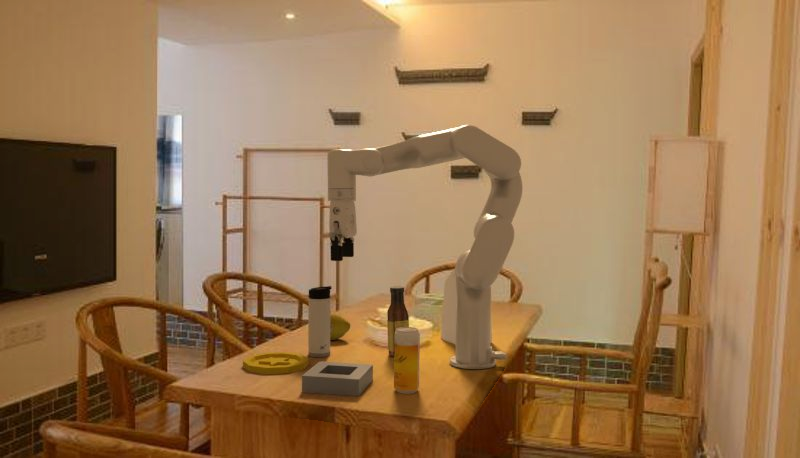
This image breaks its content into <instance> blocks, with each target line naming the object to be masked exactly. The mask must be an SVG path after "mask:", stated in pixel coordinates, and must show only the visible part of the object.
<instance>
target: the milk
mask: <svg viewBox="0 0 800 458" xmlns="http://www.w3.org/2000/svg"><path fill="white" fill-rule="evenodd" d="M455 271H456V266H455V267H454V268H453V270H452V271H451V272H450V273H449V274H448V276H447V277H446V279H445V281H444V288H443V289H444V290H443V298H442V299H443V301H442V303H443V304H442V314H441V316H442V317H441V327H440V329H441V330H440V339H441V340H443V341H445V342H447V343H450V344H452V345H455V346H456V272H455ZM492 334H493V333H492V326H491V327H490V344H492V343H493V341H492V340H493V339H492V338H493V337H492V336H493V335H492Z"/></svg>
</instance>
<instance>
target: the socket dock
mask: <svg viewBox="0 0 800 458" xmlns="http://www.w3.org/2000/svg"><path fill="white" fill-rule="evenodd" d="M373 380H374V364H370V363H368V364H367V363H355V362H353V363H352V362H338V361H323V360H320V361H319V362H317V363H316V364H315V365H313V366H311V368H310V369H309V370H307V371H306V372H304V373H303V374H301V393H305V394H306V393H308V394H319V395H320V394H321V395H322V394H324V395H334V396H335V395H337V396H350V397H351V396H352V397H360V396H361V394H363V392H364V391H366V389H367V388H368V387H369V385H371V383H372V381H373Z"/></svg>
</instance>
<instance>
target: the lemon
mask: <svg viewBox="0 0 800 458" xmlns="http://www.w3.org/2000/svg"><path fill="white" fill-rule="evenodd" d="M350 328H351V322H349V321H348V320H346V319H345V317H344V316H343V317H342V316H340V315H337V314H335V313H334V314H332V313H330V341H334V340H338V339H341V338H342V337H344V336H345V335H346V334H347V332H349V331H350Z"/></svg>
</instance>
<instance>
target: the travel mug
mask: <svg viewBox="0 0 800 458" xmlns="http://www.w3.org/2000/svg"><path fill="white" fill-rule="evenodd" d="M332 289H333V287H332V285H328V286H327V285H326V286H316V287H313V288H310V289H308V308H307V309H308V311H307V312H308V318H307V319H308V325H307V327H308V328H307V329H308V336H307V337H308V341H307V343H308V345H307V346H308V353H307V354H308V356H309V357H312V358H326V357H329V356H330V355H331V340H330V315H331V290H332Z"/></svg>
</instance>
